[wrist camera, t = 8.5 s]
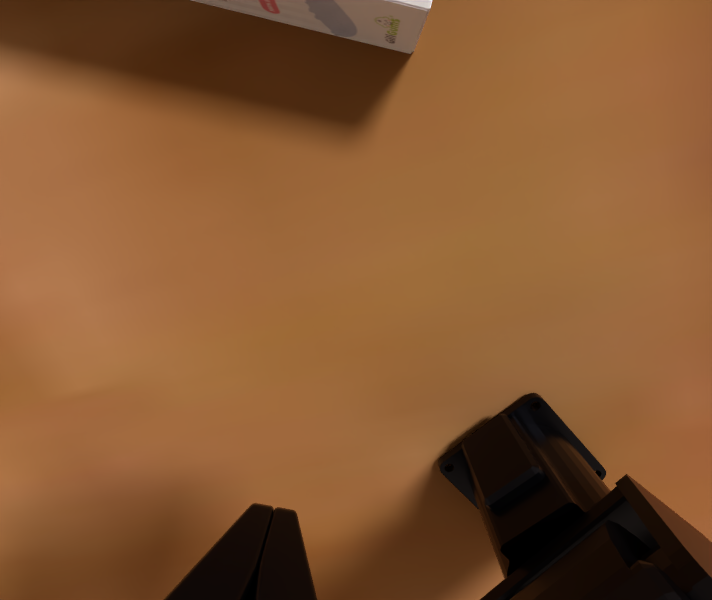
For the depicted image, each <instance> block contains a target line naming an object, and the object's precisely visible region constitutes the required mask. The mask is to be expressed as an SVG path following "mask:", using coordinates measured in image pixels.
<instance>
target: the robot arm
mask: <svg viewBox="0 0 712 600" xmlns="http://www.w3.org/2000/svg"><path fill="white" fill-rule="evenodd" d="M535 401H536V402H537V404H536V405H534V406H531V404H532V403H533V402H535ZM438 464H439V468H440V471H441V473H442V474H443V475H444V476H445V477H446V478H447V479H448V480H449V481H450V482H451V483H452V484H453V485H454V486H455V487H456V488H457V489H458V490H459V491H460V492H462V493H463V494H464V495H465V496H466V497H467V498H468V499H469V500H470V501H471V502H472V503H473V504H474V505H475V506H476V507H477V508H478V509H479V510H480V513H481V516H482V519H483V521H484V524H485V527H486V530H487V532H488V535H489V538H490V540H491V543H492V546H493V549H494V551H495V554H496V557H497V559H498V562H499V565H500V568H501V570H502V573H503V576H504V578H505V579H504V580H503V581H502V582H501V583H499V584H498V585H497V586H496V587H495V588H493V589H492V590H491V591H490V592H488V593H487V594H486V595H485V596H484V597H482V598H481V599H480V600H712V542H711V541H709V540H708V539H707V538H706V537H705V536H704V535H703V534H702V533H700V532H699V531H698V530H697V529H695V528H694V527H693V526H691V525H690V524H689V523H688V522H686V521H685V520H684V519H683V518H681V517H680V516H679V515H678V514H676V513H675V512H674V511H673V510H671V509H670V508H669V507H668V506H666V505H665V504H664V503H663V502H661V501H660V500H659V499H658V498H656V497H655V496H654V495H652V494H651V493H650V492H649V491H647V490H646V489H645V488H644V487H642V486H641V485H640V484H639V483H637V482H636V481H635V480H634V479H632V478H631V477H630V476H629V475H627V474H626V475H625V476H624V477H622V478H621V479H620V480H619V481H618V482H616V485H617V487H615V488H614V489H613V490H612V491H610V490H609V489H608V487H607V486H606V485H605V484H604V482H603V481H602V480H603V479H604V478H605V476H606V471H605V469H604V468H603V466H602V465H601V464H600V463H599V462H598V461H597V460H596V458H595V457H594V456H593V455H592V454H591V453H590V452H589V451H588V449H587V448H586V447H585V446H584V445H583V444H582V443H581V441H580V440H579V439H578V438H577V437H576V436H575V435H574V434H573V432H572V431H571V430H570V429H569V428H568V427H567V426H566V424H565V423H564V422H563V421H562V420H561V419H560V418H559V416H558V415H557V414H556V413H555V412H554V411H553V410H552V409H551V407H550V406H549V405H548V404H547V403H546V402H545V401H544V399H543V398H542V397H541V396H540V395H538V394H536V393H530V394H528V395H526V396H525V397H523V398H522V399H521V400H519V401H518V402H516V403H515V404H514V405H512V406H511V407H510V408H508V409H507V410H505V411H504V412H503V413H501V414H500V415H498V416H496V417H495V418H494V419H492V420H491V421H490V422H488V423H487V424H485V425H484V426H483V427H481V428H480V429H479V430H477V431H476V432H474V433H473V434H472V435H470V436H469V437H468V438H466V439H465V440H464V441H463V442H462V443H460V444H459V445H457V446H456V447H455V448H453V449H452V450H451V451H449V452H448V453H446V454H445V455H444V456H442V457H441V458H440V459H439V462H438ZM447 464H452V465H451V466H449V467H446V465H447ZM594 471H596V472H594ZM164 600H317V597H316V593H315V589H314V585H313V580H312V576H311V572H310V568H309V563H308V559H307V555H306V551H305V546H304V542H303V538H302V534H301V529H300V525H299V521H298V517H297V513H296V512H295V511H294V510H290V509H285V508H279V507H277V508H275V510H274V509H273V507H272V506H268V505H263V504H257V503H254V504H252V505H251V506H250V507H249V508H248V509H247V510H246V511H245V512H244V513H243V514H242V515H241V516H240V517H239V519H238V520H237V521H236V522H235V523H234V524H233V525H232V526H231V527H230V528H229V529H228V531H227V532H226V533H225V534H224V535H223V536H222V537H221V538H220V539H219V540H218V541H217V542H216V544H215V545H214V546H213V547H212V548H211V549H210V550H209V551H208V552H207V553H206V554H205V556H204V557H203V558H202V559H201V560H200V561H199V562H198V563H197V564H196V565H195V566H194V568H193V569H192V570H191V571H190V572H189V573H188V574H187V575H186V576H185V577H184V578H183V579H182V581H181V582H180V583H179V584H178V585H177V586H176V587H175V588H174V589H173V590H172V591H171V593H170V594H169V595H168V596H167V597H166V598H165V599H164Z"/></svg>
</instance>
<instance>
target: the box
mask: <svg viewBox="0 0 712 600" xmlns="http://www.w3.org/2000/svg"><path fill="white" fill-rule="evenodd" d="M191 1H195V2H199V3H203V4H208V5H212V6H216V7H220V8H224V9H228V10H232V11H236V12H240V13H244V14H249V15H253V16H257V17H261V18H265V19H269V20H273V21H277V22H281V23H285V24H289V25H294V26H298V27H302V28H306V29H310V30H314V31H318V32H322V33H326V34H330V35H334V36H339V37H343V38H347V39H351V40H355V41H359V42H363V43H367V44H371V45H375V46H380V47H384V48H388V49H392V50H396V51H400V52H404V53H408V54H411V53H412V52H414V49H415V47H416V44H417V42H418V39H419V37H420V34H421V32H422V29H423V26H424V24H425V21H426V19H427V16H428V14H429V11H430V8H431V4H432V0H191Z"/></svg>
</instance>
